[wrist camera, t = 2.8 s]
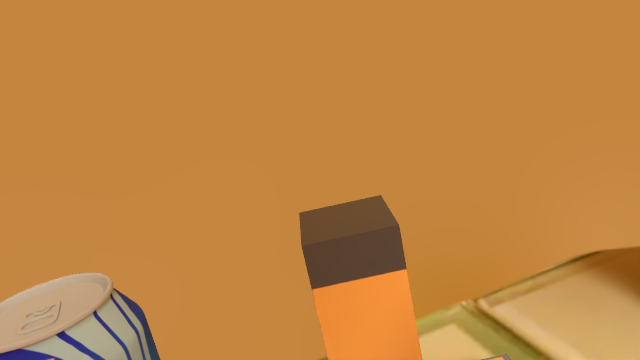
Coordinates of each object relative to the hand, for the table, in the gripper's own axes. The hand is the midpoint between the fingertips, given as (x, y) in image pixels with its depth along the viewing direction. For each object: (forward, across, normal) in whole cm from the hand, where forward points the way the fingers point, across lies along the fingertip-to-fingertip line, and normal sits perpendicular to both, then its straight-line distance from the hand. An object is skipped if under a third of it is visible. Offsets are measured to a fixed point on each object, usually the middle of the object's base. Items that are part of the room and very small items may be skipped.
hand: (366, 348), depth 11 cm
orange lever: (+11, +1, -16) cm, 20 cm away
